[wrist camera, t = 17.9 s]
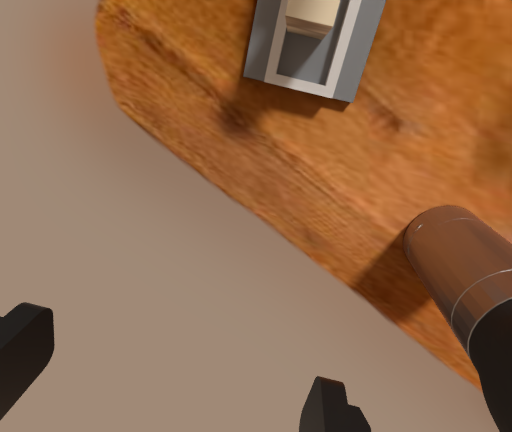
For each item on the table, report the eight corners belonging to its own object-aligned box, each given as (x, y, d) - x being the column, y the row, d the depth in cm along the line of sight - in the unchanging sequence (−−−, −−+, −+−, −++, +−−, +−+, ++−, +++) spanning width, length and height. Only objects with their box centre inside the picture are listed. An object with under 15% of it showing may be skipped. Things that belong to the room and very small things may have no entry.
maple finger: (334, -7, 32) (351, -40, 23) (322, 40, 33) (333, 26, 24) (297, -15, 32) (299, -52, 23) (287, 31, 33) (284, 15, 24)
